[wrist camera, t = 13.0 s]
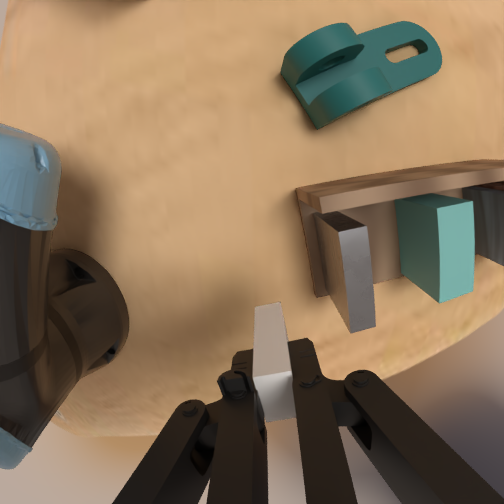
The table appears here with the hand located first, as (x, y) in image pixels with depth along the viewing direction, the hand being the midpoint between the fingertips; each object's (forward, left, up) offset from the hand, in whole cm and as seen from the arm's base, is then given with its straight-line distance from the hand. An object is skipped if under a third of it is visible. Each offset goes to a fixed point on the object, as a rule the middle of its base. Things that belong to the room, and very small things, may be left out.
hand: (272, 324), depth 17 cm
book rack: (+16, +1, -13) cm, 21 cm away
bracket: (+15, +18, -13) cm, 27 cm away
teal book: (+16, 0, -12) cm, 20 cm away
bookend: (+6, 0, -12) cm, 13 cm away
